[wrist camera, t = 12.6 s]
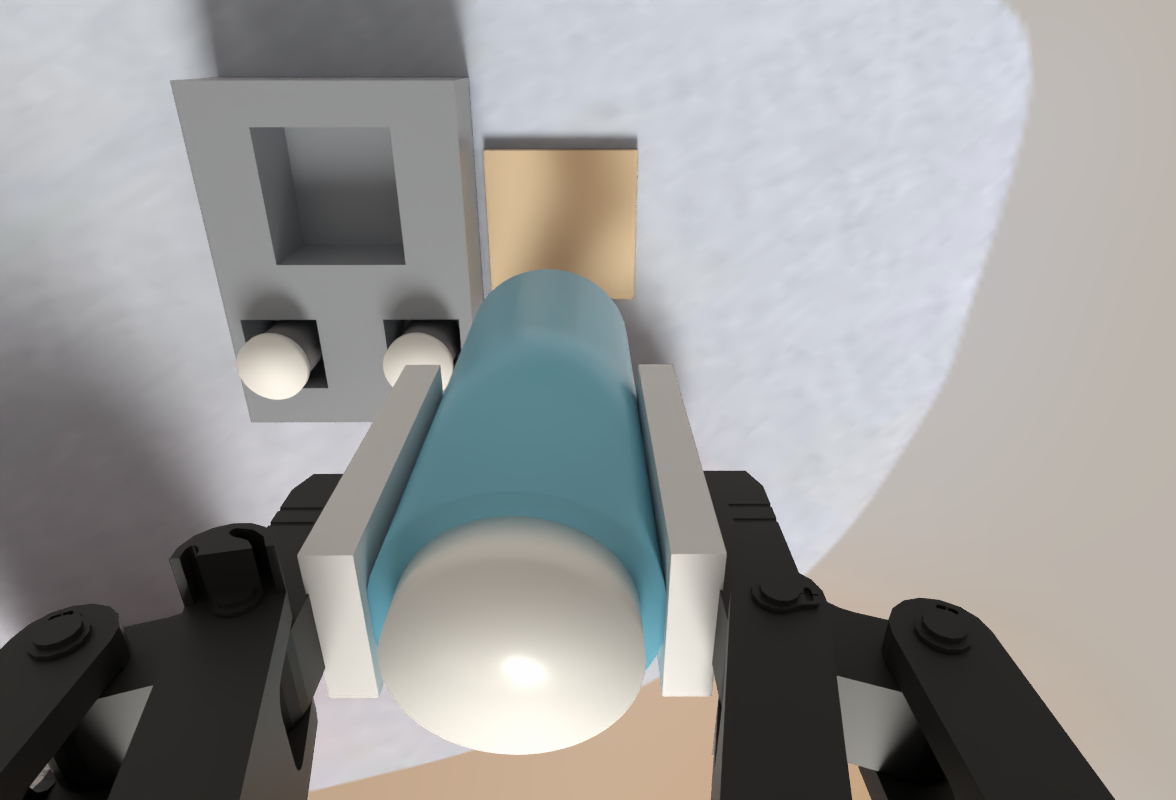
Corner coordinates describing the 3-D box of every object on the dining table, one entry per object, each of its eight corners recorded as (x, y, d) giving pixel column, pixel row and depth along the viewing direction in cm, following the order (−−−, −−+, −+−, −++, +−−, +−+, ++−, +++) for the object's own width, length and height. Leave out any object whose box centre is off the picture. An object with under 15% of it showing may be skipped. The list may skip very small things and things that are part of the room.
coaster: (493, 296, 35) (492, 299, 35) (484, 149, 32) (483, 150, 32) (632, 295, 36) (633, 298, 35) (636, 149, 32) (637, 150, 32)
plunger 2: (407, 364, 35) (387, 399, 32) (400, 306, 34) (378, 336, 30) (467, 364, 35) (454, 399, 32) (462, 306, 34) (448, 336, 30)
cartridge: (477, 416, 21) (373, 774, 11) (464, 270, 19) (319, 535, 9) (626, 413, 21) (669, 770, 11) (628, 267, 19) (682, 529, 9)
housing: (282, 387, 38) (251, 422, 34) (217, 77, 31) (169, 80, 27) (489, 386, 38) (479, 421, 34) (468, 77, 31) (453, 80, 27)
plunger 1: (278, 364, 35) (244, 399, 32) (266, 307, 34) (229, 337, 30) (339, 364, 35) (311, 399, 32) (329, 307, 34) (299, 336, 30)
